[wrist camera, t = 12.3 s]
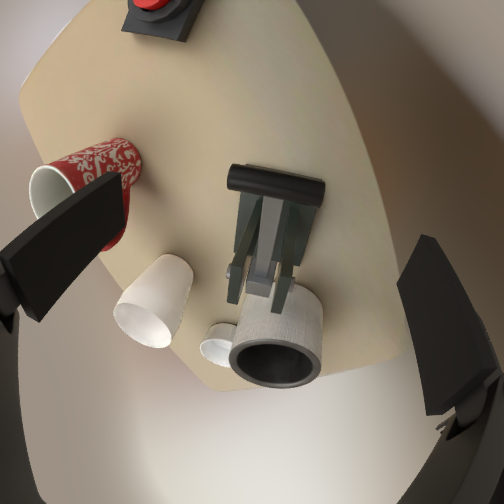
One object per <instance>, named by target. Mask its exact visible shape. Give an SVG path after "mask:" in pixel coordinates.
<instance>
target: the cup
mask: <svg viewBox="0 0 504 504" xmlns="http://www.w3.org/2000/svg"><path fill="white" fill-rule="evenodd" d="M193 277H194V275H193V271H192V269H191V267H190V266H189V264H188V263H187V262H186V261H185V260H183V259H182V258H180V257H178V256H175V255H172V254H165V255H162V256H160V257H159V258H157V259H156V260H155V261H154V262H153V263H152V264H151V265H150V266H149V267H148V268H147V269H146V270H145V271H144V272H143V273H142V274H141V275H140V276H139V277H138V278H137V279H136V280H135V281H134V282H133V283H132V284H131V285H130V286H129V287H128V288H127V289H126V290H125V291H124V292H123V294H122V296H121V298H120V300H119V301H118V303H117V304H116V306H115V308H114V311H113V314H114V318H115V321H116V322H117V324H118V325H119V327H120V328H121V329H122V330H123V331H124V332H125V333H126V334H127V335H128V336H130V337H131V338H132V339H134V340H136V341H137V342H139V343H142V344H144V345H146V346H150V347H155V348H162V347H166V346H168V345H169V344H170V342H171V341H172V339H173V337H174V335H175V333H176V332H177V330H178V328H179V326H180V324H181V320H182V317H183V313H184V310H185V306H186V302H187V299H188V295H189V292H190V289H191V285H192V282H193Z"/></svg>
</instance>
